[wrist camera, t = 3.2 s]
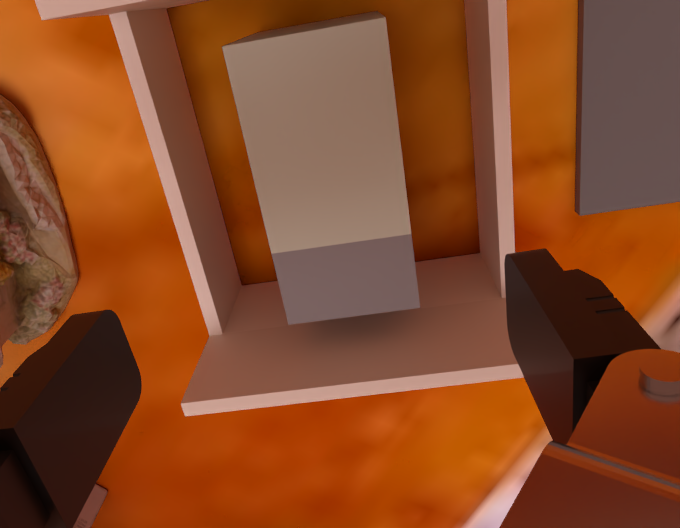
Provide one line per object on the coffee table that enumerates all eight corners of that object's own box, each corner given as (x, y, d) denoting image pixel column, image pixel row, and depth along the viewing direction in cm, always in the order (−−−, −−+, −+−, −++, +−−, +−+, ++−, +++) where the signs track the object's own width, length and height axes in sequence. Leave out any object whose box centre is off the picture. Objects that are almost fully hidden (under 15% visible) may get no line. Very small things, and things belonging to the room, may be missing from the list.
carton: (475, -68, 22) (548, -105, 13) (493, 262, 28) (550, 374, 19) (147, -5, 23) (32, -5, 15) (233, 297, 29) (185, 416, 21)
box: (377, 10, 23) (385, 17, 17) (404, 234, 27) (420, 307, 21) (257, 32, 23) (221, 46, 17) (303, 249, 28) (288, 324, 21)
